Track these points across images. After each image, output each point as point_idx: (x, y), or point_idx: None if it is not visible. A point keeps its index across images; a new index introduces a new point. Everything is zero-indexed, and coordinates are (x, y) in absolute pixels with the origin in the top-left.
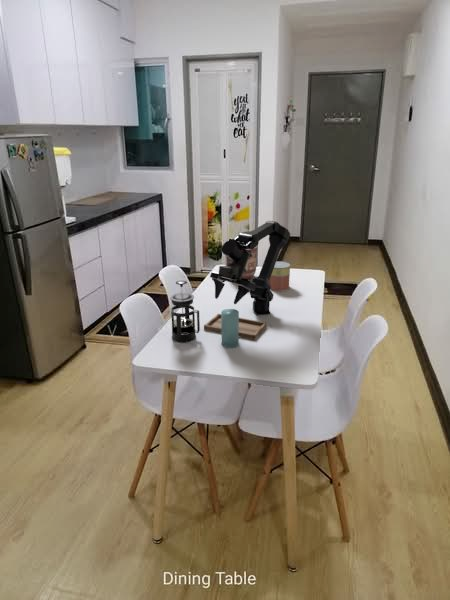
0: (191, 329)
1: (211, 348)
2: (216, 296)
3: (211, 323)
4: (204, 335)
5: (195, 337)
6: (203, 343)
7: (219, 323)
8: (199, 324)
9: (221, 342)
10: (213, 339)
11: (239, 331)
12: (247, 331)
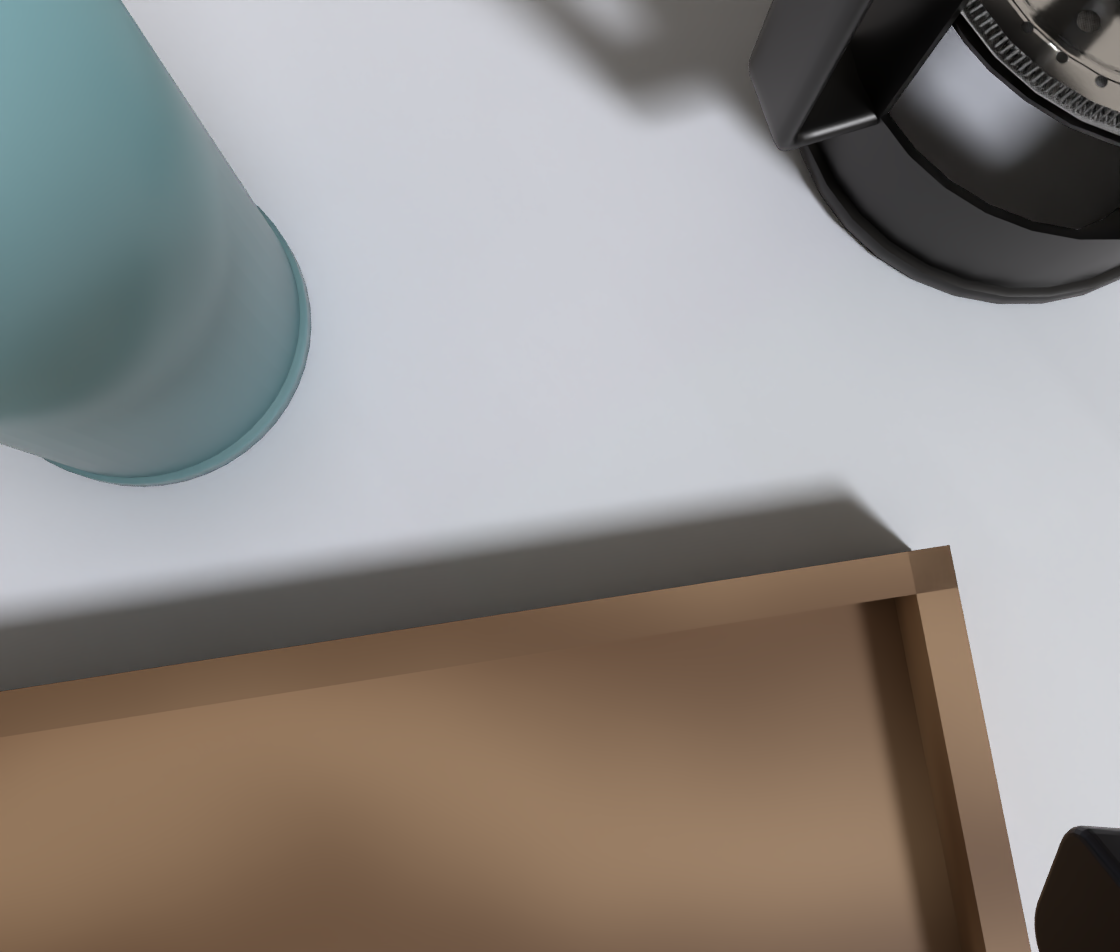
0: (1031, 260)
1: (340, 21)
2: (1112, 903)
3: (938, 817)
4: (745, 350)
5: (812, 168)
6: (566, 93)
7: (802, 924)
8: (812, 55)
9: (278, 235)
10: (508, 309)
11: (222, 830)
12: (74, 931)
